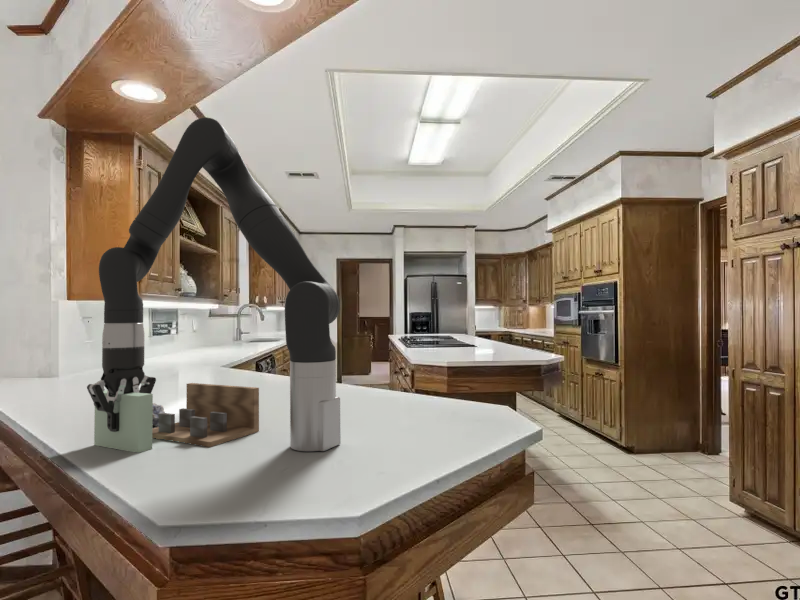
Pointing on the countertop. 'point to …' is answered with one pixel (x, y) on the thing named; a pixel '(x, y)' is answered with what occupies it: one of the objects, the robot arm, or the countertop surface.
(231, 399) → the hinge base
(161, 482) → the countertop surface
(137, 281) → the robot arm
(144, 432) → the cabinet door
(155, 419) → the mineral specimen
